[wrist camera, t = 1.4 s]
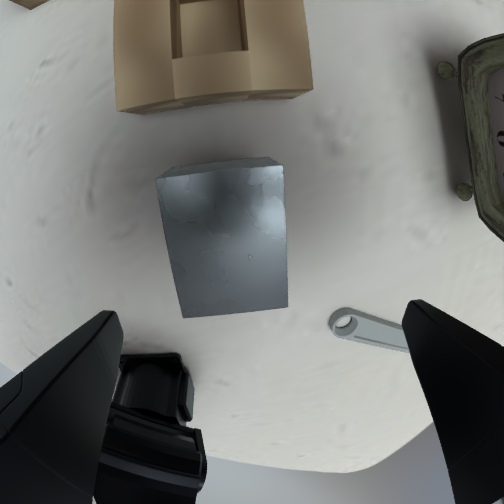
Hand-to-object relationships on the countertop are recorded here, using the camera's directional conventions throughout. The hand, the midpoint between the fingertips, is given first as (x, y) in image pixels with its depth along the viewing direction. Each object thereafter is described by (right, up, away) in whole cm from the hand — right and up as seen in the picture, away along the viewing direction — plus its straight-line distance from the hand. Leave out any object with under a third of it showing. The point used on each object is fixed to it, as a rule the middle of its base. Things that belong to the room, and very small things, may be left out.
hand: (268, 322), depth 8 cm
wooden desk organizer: (-3, +18, +6) cm, 20 cm away
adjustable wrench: (+18, -7, +20) cm, 28 cm away
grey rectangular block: (-2, +5, +12) cm, 13 cm away
